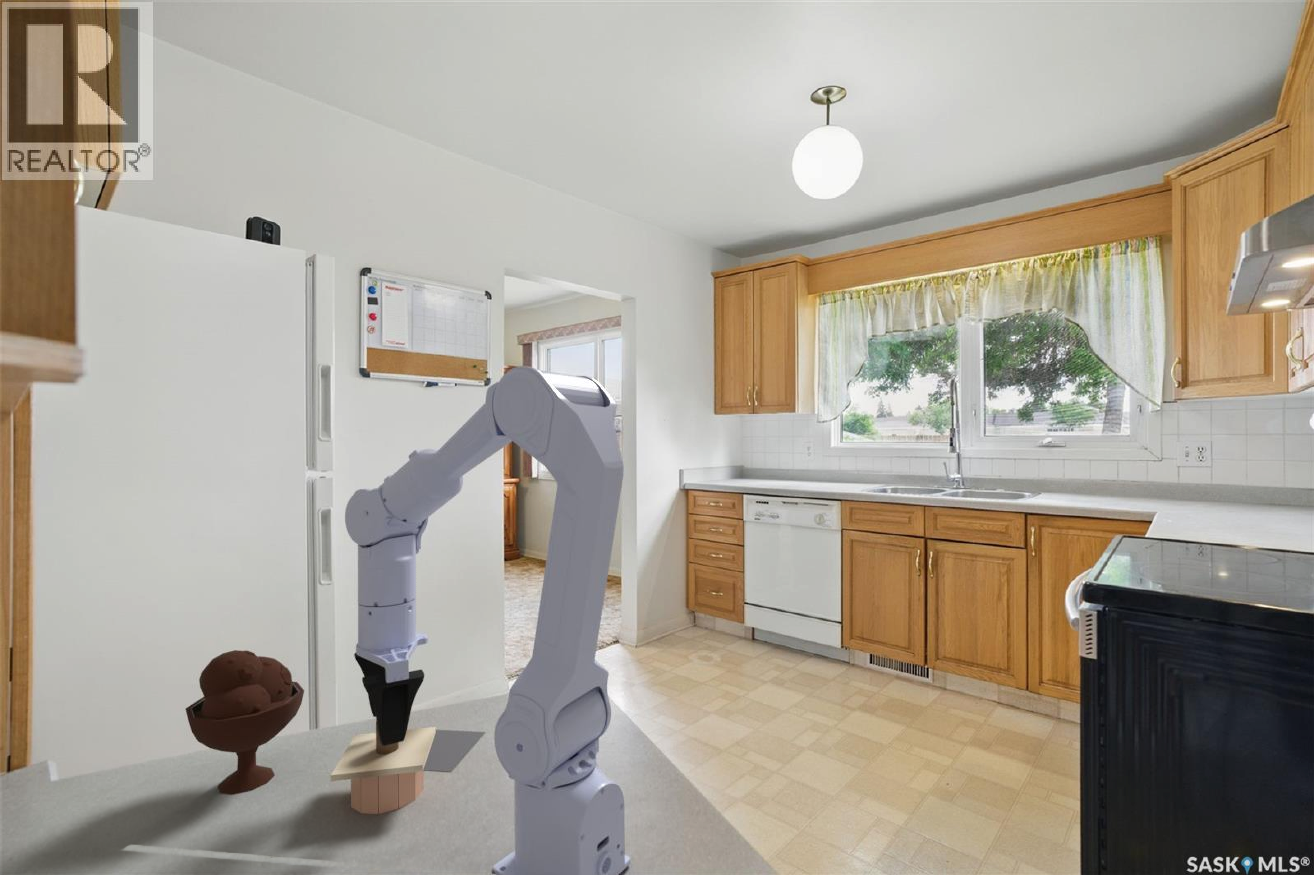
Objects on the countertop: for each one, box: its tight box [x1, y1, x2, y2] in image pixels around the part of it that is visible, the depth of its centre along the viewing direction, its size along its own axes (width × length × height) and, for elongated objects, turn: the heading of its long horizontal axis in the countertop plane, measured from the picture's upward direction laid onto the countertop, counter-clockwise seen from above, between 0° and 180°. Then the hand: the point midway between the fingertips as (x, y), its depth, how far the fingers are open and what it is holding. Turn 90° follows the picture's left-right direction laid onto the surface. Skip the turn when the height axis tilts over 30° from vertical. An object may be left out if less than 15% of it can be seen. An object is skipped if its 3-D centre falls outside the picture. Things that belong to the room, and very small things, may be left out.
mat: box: [423, 729, 486, 773], centre depth 74 cm, size 10×10×1 cm
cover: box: [330, 719, 437, 782], centre depth 65 cm, size 9×9×4 cm
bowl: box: [350, 771, 424, 815], centre depth 65 cm, size 7×7×4 cm
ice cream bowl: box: [185, 649, 305, 795], centre depth 68 cm, size 11×11×15 cm
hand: (387, 727), depth 65 cm, fingers open, 7 cm apart
